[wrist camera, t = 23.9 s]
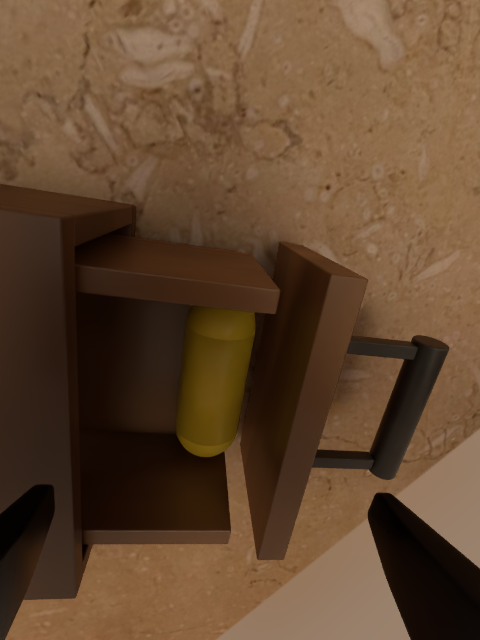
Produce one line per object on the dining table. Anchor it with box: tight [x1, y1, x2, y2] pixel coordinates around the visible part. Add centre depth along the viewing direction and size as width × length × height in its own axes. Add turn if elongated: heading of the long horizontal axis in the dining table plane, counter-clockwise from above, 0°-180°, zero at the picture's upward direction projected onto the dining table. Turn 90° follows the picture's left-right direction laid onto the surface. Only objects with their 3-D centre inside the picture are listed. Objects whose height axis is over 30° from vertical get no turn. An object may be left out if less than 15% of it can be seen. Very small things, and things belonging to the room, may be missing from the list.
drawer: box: [75, 233, 449, 560], centre depth 14 cm, size 19×12×7 cm, turn 81°
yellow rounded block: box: [176, 305, 256, 457], centre depth 15 cm, size 8×3×3 cm, turn 171°
